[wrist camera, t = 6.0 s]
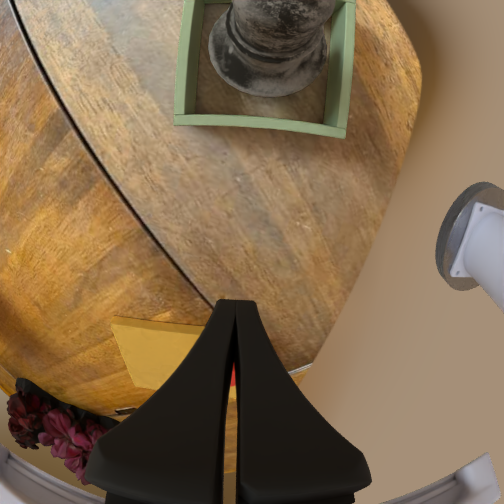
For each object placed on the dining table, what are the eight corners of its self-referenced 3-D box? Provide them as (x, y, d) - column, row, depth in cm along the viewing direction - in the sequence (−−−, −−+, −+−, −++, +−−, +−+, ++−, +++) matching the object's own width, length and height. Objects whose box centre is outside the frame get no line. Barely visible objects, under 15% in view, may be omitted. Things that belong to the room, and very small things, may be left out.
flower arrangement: (39, 410, 42) (23, 455, 29) (-1, 362, 32) (-28, 414, 19) (147, 446, 43) (138, 504, 30) (118, 406, 34) (97, 486, 21)
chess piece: (320, 31, 12) (420, -54, 2) (301, 110, 15) (399, 116, 5) (227, 11, 12) (195, -107, 1) (207, 91, 14) (122, 59, 4)
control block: (260, 321, 23) (262, 346, 21) (250, 391, 29) (251, 412, 27) (111, 307, 23) (99, 328, 20) (137, 378, 29) (131, 398, 26)
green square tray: (340, 11, 11) (356, -4, 9) (330, 134, 16) (345, 139, 13) (196, -3, 11) (187, -21, 8) (185, 123, 15) (173, 125, 13)
